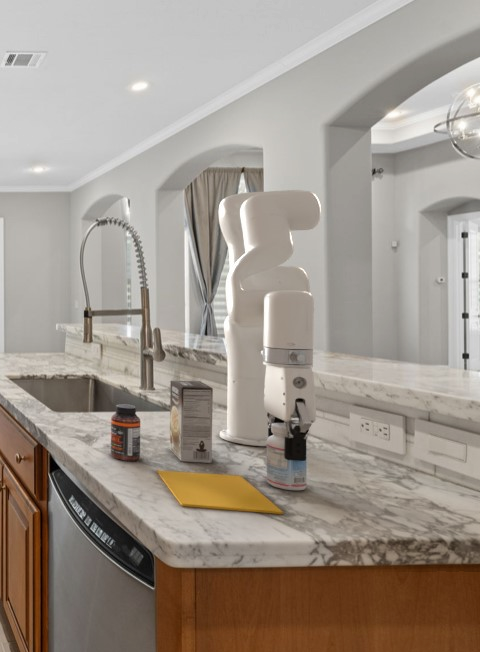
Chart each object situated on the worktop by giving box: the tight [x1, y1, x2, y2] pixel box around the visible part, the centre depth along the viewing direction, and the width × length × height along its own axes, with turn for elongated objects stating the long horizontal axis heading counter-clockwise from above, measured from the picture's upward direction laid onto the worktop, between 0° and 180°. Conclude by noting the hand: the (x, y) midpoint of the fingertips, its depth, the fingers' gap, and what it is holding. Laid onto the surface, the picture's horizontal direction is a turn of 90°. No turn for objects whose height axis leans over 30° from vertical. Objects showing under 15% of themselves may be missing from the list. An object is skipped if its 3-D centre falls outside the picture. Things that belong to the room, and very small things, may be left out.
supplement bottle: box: [110, 403, 141, 462], centre depth 118 cm, size 6×6×11 cm
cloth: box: [156, 469, 284, 515], centre depth 98 cm, size 18×15×1 cm
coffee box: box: [169, 380, 214, 464], centre depth 119 cm, size 9×6×16 cm
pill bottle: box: [266, 423, 308, 491], centre depth 101 cm, size 6×6×11 cm
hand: (286, 453), depth 101 cm, fingers closed on pill bottle, 6 cm apart
